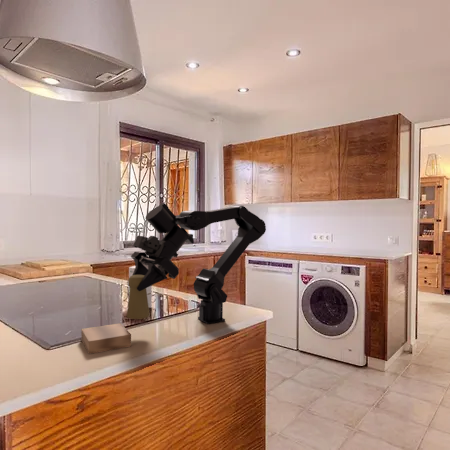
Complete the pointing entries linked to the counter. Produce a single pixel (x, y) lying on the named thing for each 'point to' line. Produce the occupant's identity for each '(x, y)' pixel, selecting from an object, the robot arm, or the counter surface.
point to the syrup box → (148, 289)
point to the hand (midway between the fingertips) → (133, 288)
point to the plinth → (105, 338)
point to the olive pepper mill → (137, 299)
